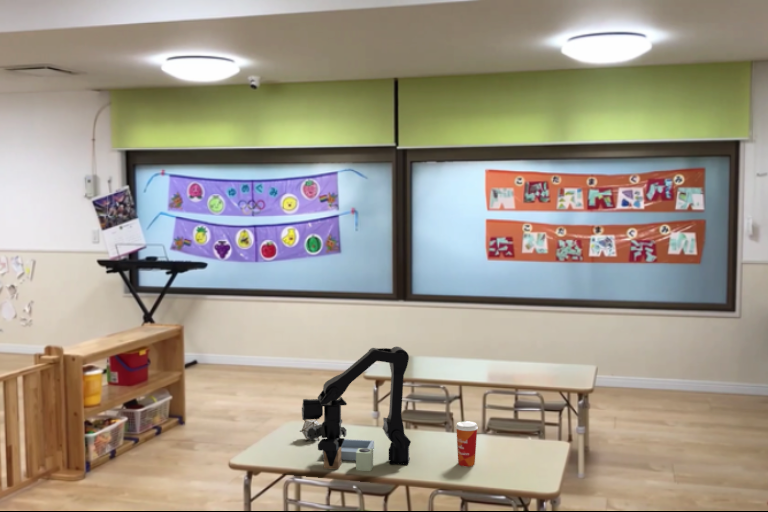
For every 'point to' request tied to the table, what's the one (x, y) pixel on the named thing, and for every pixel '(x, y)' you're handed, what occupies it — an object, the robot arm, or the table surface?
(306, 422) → the game die
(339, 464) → the walnut block
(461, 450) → the paper cup
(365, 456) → the sage block
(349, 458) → the tray
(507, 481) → the table surface
